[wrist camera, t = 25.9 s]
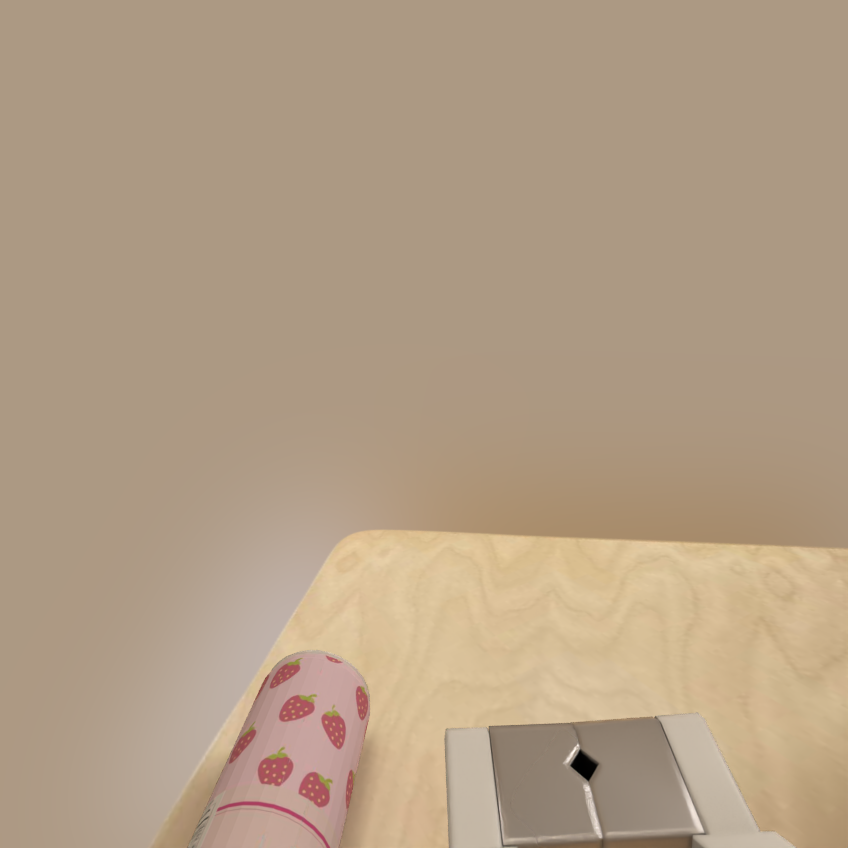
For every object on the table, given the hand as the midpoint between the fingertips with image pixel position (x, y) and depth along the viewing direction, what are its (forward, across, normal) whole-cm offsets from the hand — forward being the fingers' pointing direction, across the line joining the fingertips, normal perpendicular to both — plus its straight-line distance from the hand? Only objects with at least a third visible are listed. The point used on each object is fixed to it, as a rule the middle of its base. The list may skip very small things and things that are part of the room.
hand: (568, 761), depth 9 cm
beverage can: (+9, +10, +18) cm, 23 cm away
